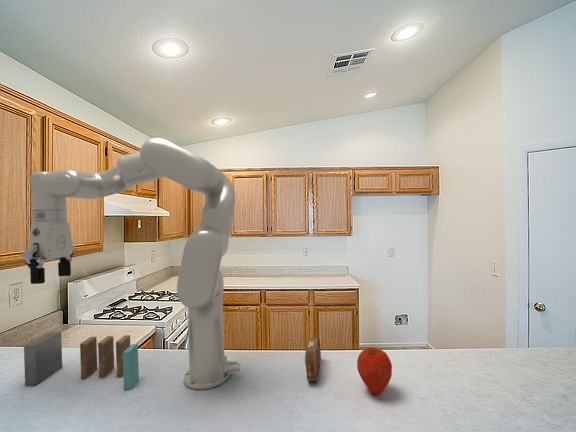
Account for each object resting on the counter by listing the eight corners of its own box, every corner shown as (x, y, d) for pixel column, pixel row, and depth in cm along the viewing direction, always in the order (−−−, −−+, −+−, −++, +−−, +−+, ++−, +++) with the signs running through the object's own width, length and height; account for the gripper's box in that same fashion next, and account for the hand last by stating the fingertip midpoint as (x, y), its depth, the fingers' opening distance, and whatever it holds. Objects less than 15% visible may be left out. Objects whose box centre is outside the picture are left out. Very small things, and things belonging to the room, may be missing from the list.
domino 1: (97, 369, 91) (96, 336, 91) (86, 378, 86) (85, 343, 86) (92, 369, 91) (90, 336, 91) (81, 378, 86) (80, 343, 86)
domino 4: (138, 379, 84) (137, 344, 84) (130, 390, 79) (128, 352, 79) (133, 380, 84) (131, 344, 84) (123, 390, 79) (122, 352, 79)
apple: (350, 388, 77) (349, 345, 77) (377, 379, 80) (376, 339, 80) (372, 407, 69) (371, 360, 69) (400, 397, 73) (399, 352, 73)
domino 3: (131, 368, 91) (130, 335, 91) (122, 376, 86) (121, 342, 86) (125, 368, 91) (124, 335, 91) (116, 377, 86) (115, 342, 86)
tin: (316, 388, 78) (315, 355, 78) (304, 387, 78) (303, 354, 78) (321, 360, 92) (320, 332, 92) (311, 359, 93) (310, 332, 93)
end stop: (62, 367, 93) (61, 331, 93) (36, 385, 83) (35, 345, 83) (52, 367, 93) (51, 332, 93) (25, 386, 83) (23, 346, 83)
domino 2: (114, 368, 91) (113, 335, 91) (104, 377, 86) (103, 342, 86) (108, 369, 91) (107, 336, 91) (99, 378, 86) (98, 343, 86)
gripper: (38, 216, 74) (41, 286, 74) (84, 216, 91) (86, 272, 91) (7, 218, 74) (9, 287, 74) (58, 217, 91) (60, 273, 91)
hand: (52, 279), depth 83 cm, fingers open, 9 cm apart
